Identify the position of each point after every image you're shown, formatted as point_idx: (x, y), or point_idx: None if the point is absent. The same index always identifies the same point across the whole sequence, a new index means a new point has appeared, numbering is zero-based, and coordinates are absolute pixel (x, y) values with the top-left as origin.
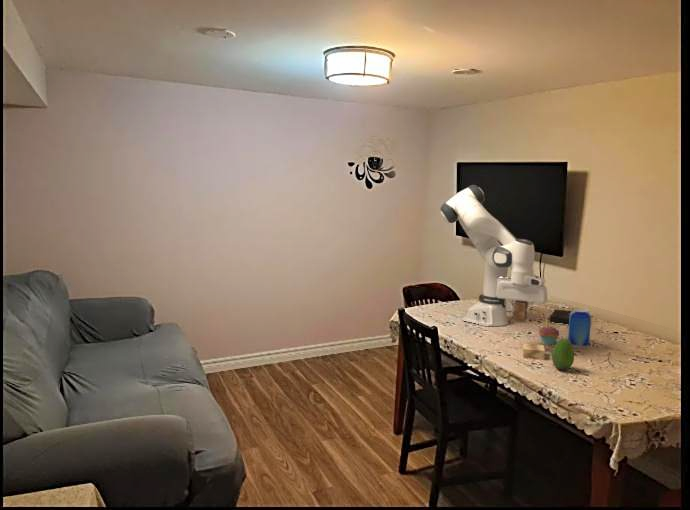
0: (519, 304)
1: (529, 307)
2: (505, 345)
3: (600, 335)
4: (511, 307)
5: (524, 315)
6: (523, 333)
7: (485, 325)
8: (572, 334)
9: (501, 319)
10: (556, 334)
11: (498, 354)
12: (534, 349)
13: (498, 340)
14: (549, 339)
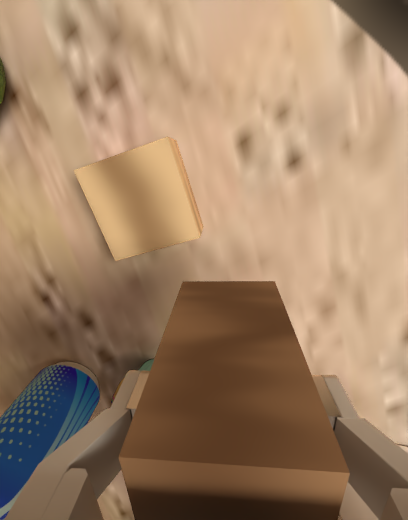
0: (228, 429)
1: (99, 418)
2: (288, 273)
3: None
4: (344, 399)
5: (170, 316)
6: None
7: (402, 447)
8: (55, 400)
9: (355, 493)
10: (115, 393)
11: (290, 123)
12: (120, 165)
13: (327, 320)
14: (143, 369)
